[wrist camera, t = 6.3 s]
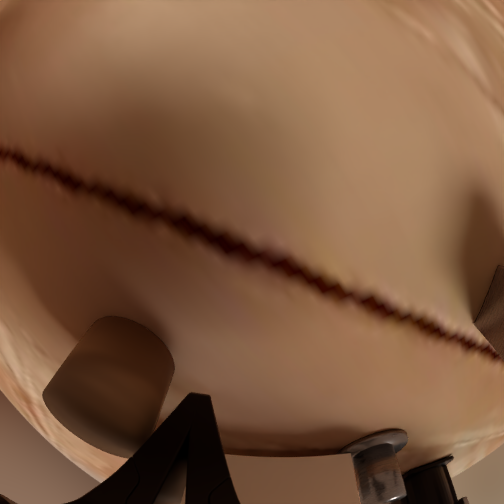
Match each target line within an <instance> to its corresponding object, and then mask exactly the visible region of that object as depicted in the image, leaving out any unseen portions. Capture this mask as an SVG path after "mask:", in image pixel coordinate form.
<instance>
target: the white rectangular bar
mask: <svg viewBox="0 0 504 504" xmlns="http://www.w3.org/2000/svg"><path fill="white" fill-rule="evenodd" d="M225 458H226V461H227V465H228V468H229V472H230V477H231V478H232V482H233V485H234V488H235V491H236V494H237V497H238V499H239V501H240V503H241V504H360V501H359V495H358V490H357V484H356V478H355V473H354V468H353V463H352V457H351V453H347V454H338V455H327V456H313V457H255V456H240V455H229V454H225ZM185 491H186V487H185V490H184V493H183V497H182V500H181V503H180V504H185Z"/></svg>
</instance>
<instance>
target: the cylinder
mask: <svg viewBox="0 0 504 504" xmlns="http://www.w3.org/2000/svg"><path fill="white" fill-rule="evenodd" d="M174 370H175V366H174V361H173V358H172V355H171V353H170V352H169V350H168V349H167V347H166V346H165V345H164V343H163V342H162V341H161V340H160V339H159V338H158V337H157V336H156V335H155V334H153V333H152V332H151V331H149V330H148V329H146V328H145V327H143V326H142V325H140V324H138V323H136V322H134V321H131V320H128V319H125V318H121V317H115V316H109V317H103V318H100V319H99V320H97V321H96V322H95V323H94V324H93V325H92V326H91V328H90V329H89V330H88V331H87V333H86V334H85V335H84V336H83V338H82V339H81V340H80V342H79V343H78V344H77V345H76V347H75V348H74V349H73V351H72V352H71V353H70V355H69V356H68V357H67V359H66V360H65V361H64V363H63V364H62V365H61V367H60V368H59V369H58V371H57V372H56V374H55V375H54V376H53V378H52V379H51V381H50V382H49V384H48V385H47V386H46V388H45V389H44V391H43V394H42V396H43V400H44V402H45V404H46V406H47V408H48V409H49V411H50V412H51V413H52V414H53V416H54V417H55V418H56V419H57V420H58V421H59V422H60V423H61V424H62V425H63V426H64V427H66V428H67V429H68V430H69V431H70V432H72V433H73V434H74V435H76V436H77V437H79V438H80V439H82V440H83V441H85V442H87V443H88V444H90V445H92V446H94V447H96V448H98V449H100V450H102V451H105V452H107V453H110V454H113V455H116V456H119V457H123V458H130V457H132V455H133V454H134V453H135V452H136V451H137V450H138V449H139V448H140V447H141V446H142V445H143V444H144V443H145V442H146V440H147V439H148V438H149V437H150V436H151V435H152V434H153V432H154V429H155V426H156V423H157V420H158V417H159V415H160V412H161V409H162V406H163V403H164V400H165V397H166V394H167V391H168V388H169V386H170V383H171V380H172V377H173V374H174Z"/></svg>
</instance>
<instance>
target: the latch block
mask: <svg viewBox="0 0 504 504" xmlns="http://www.w3.org/2000/svg"><path fill="white" fill-rule="evenodd" d="M474 325H475V326H476V327H477V329H478V330H479V331H480V332H481V333H482V334H483V336H484V337H485V338H486V339H487V340H488V341H489V343H490V344H491V345H492V346H493V348H494V349H495V350H496V351H497V353H498V354H499V355H500V356H501V358H502V359H503V360H504V266H498V268H497V271H496V274H495V277H494V279H493V282H492V285H491V287H490V290H489V292H488V295H487V297H486V299H485V302H484V304H483V306H482V309H481V311H480V313H479V315H478V317H477V320H476V322H475V324H474Z"/></svg>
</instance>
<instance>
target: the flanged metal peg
mask: <svg viewBox="0 0 504 504" xmlns="http://www.w3.org/2000/svg"><path fill="white" fill-rule="evenodd" d="M407 442H408V436H407V433H406V432H405V431H404V430H399V429H395V430H387V431H382V432H379V433H375V434H372V435H369V436H366V437H364V438H361V439H359V440H357V441H355V442H353V443H351V444H349V445H347V446H346V447H344V448H343V449H341V450H340V451H339V452H338V453H337V455H338V454H347V453H351V457H352V463H353V468H354V469H355V474H356V480H357V485H358V491H359V497H360V503H361V504H391V503H393V502H396V501H398V500H400V499H402V498H403V497H405V496H406V495H407V494H406V490H405V486H404V482H403V478H402V475H401V471H400V468H399V464H398V461H397V457H396V454H395V453H397V452H398V451H400V450H401V449H402V448H403V447H404V446H405V445H406V444H407Z"/></svg>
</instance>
